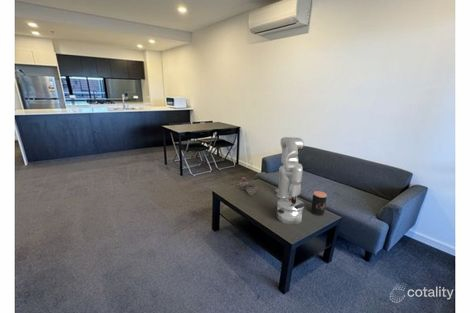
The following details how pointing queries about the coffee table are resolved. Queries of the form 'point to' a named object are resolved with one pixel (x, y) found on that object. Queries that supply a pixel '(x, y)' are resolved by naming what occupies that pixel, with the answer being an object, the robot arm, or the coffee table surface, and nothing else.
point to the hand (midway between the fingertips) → (293, 203)
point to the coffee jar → (318, 203)
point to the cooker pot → (289, 216)
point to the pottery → (251, 188)
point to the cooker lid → (290, 204)
